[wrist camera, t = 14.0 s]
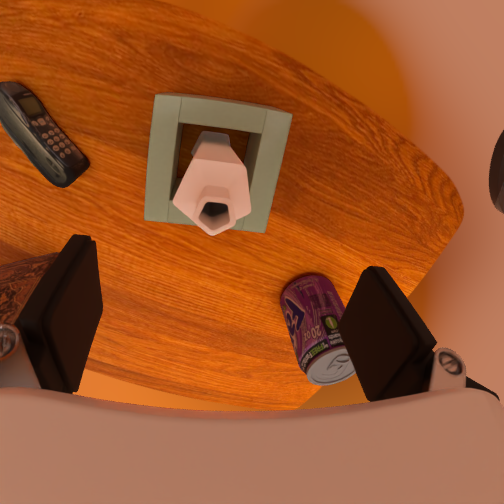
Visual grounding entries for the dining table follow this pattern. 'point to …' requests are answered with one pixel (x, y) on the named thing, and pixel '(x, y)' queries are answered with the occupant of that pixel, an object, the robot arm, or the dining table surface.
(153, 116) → the holder
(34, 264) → the book
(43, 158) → the mobile phone
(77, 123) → the dining table surface
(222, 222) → the perfume bottle
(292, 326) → the beverage can
